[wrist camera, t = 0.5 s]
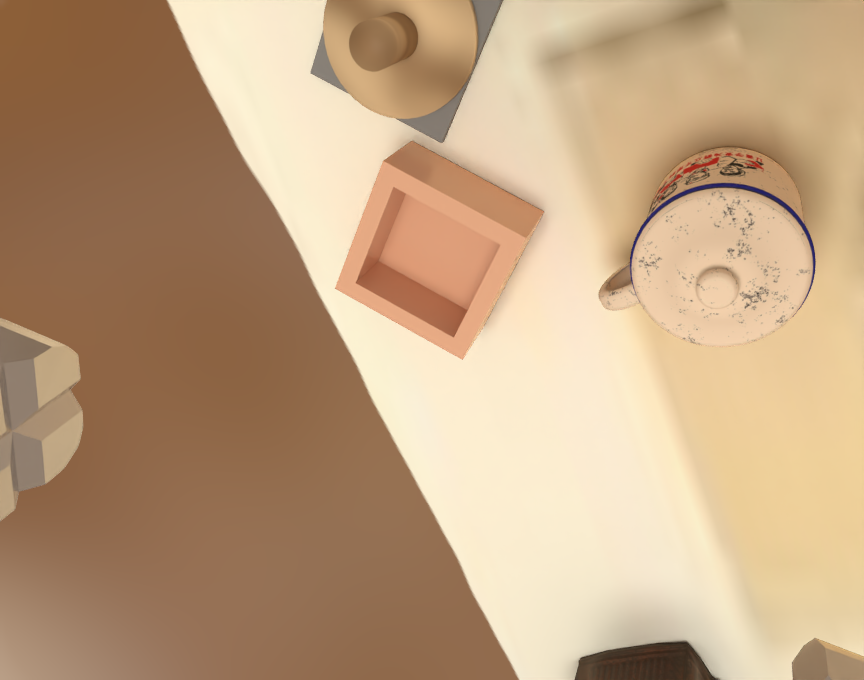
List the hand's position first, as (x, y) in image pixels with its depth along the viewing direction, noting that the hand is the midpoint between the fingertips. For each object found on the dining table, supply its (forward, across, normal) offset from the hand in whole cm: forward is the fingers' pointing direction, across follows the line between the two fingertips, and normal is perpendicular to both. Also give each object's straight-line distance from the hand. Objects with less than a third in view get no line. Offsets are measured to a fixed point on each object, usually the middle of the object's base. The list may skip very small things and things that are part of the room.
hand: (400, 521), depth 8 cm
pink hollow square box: (+44, +11, +17) cm, 48 cm away
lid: (+43, +16, +4) cm, 46 cm away
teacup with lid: (+44, -5, +11) cm, 45 cm away
